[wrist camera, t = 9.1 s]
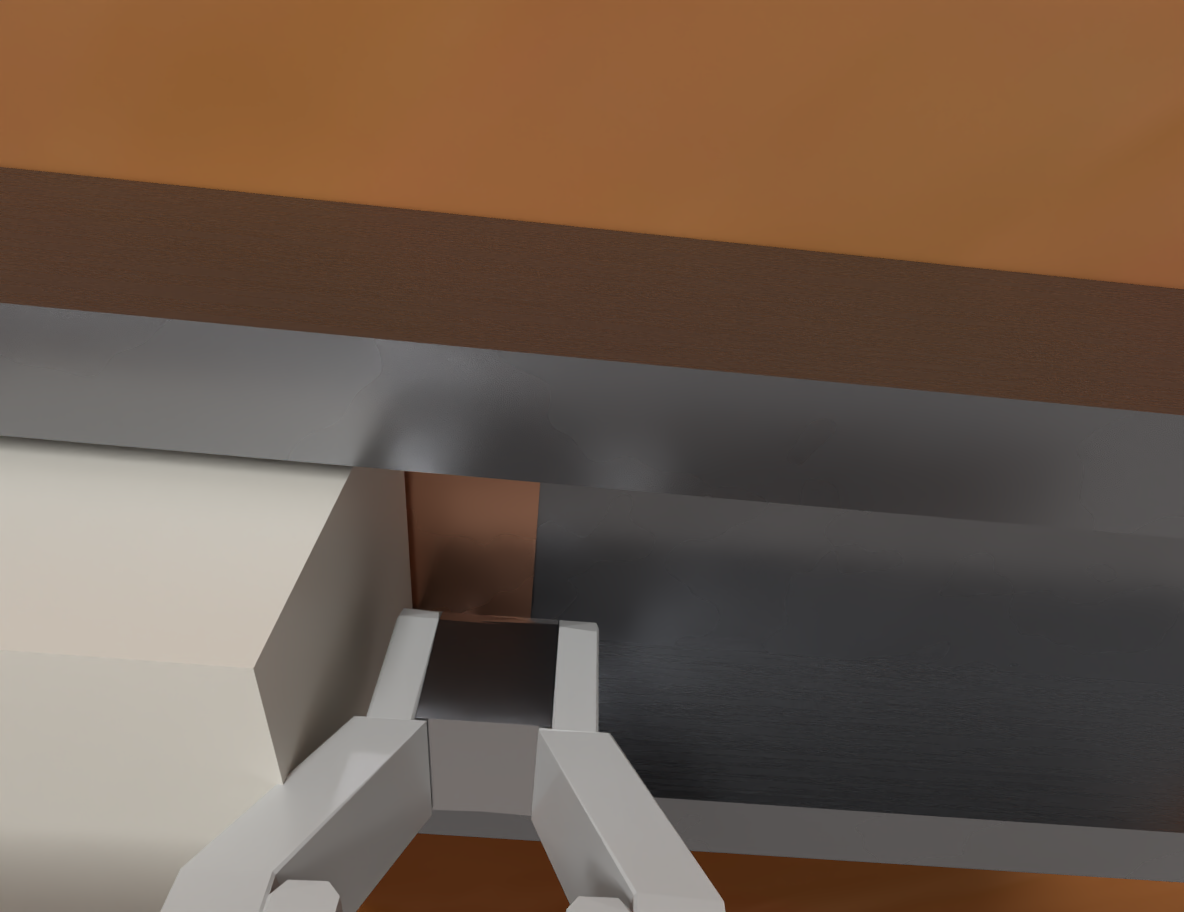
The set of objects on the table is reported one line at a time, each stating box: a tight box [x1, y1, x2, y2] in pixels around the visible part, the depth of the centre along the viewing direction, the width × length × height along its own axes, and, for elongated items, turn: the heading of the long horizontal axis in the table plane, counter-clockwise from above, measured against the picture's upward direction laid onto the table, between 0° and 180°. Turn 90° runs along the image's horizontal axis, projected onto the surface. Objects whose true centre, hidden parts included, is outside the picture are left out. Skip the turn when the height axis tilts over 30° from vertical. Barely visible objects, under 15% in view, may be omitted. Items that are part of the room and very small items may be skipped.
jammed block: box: [0, 436, 413, 912], centre depth 9 cm, size 5×5×5 cm
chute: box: [0, 167, 1184, 882], centre depth 11 cm, size 24×9×4 cm, turn 84°
